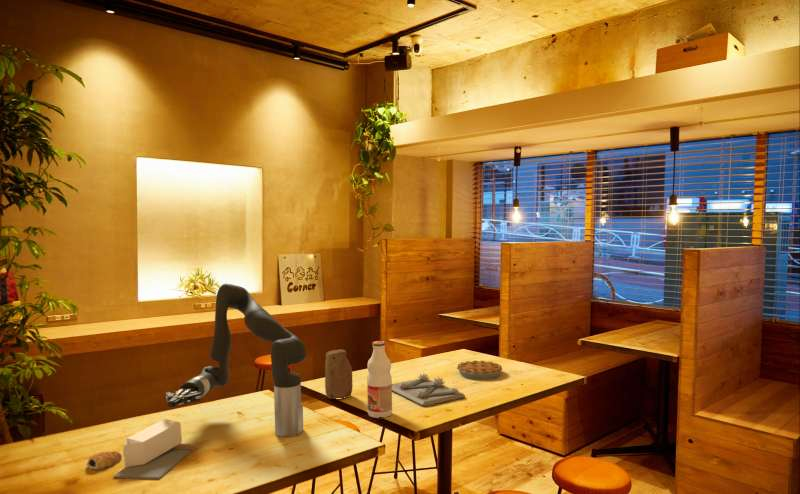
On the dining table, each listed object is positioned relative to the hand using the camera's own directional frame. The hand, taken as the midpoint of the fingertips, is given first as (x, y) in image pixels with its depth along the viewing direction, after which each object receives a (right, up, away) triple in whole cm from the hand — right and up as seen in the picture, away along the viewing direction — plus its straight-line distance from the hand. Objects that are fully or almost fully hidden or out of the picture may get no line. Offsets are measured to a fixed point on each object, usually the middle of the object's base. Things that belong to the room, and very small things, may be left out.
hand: (170, 404), depth 179 cm
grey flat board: (-1, -15, -10) cm, 18 cm away
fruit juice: (+67, -13, +32) cm, 75 cm away
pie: (+114, -10, +86) cm, 143 cm away
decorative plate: (+86, -12, +57) cm, 104 cm away
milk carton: (0, -9, +3) cm, 10 cm away
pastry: (-17, -16, -10) cm, 25 cm away
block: (+49, -12, +53) cm, 74 cm away
